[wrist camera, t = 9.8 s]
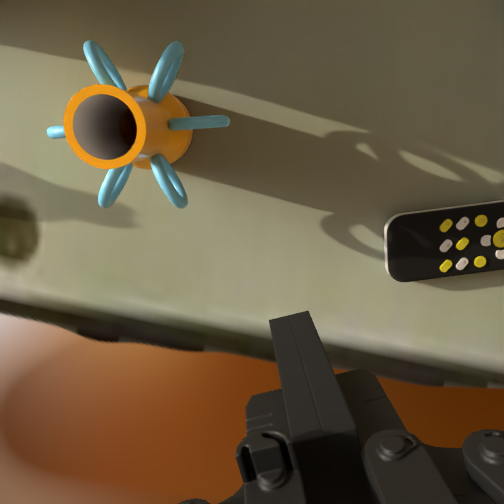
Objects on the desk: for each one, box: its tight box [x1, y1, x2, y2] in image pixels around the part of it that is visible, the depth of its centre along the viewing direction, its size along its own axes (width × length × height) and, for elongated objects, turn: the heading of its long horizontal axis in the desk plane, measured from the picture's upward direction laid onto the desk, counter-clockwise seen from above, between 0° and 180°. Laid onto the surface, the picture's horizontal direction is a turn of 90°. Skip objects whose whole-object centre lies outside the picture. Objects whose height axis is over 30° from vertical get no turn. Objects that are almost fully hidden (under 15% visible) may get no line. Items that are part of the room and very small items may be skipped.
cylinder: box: [47, 40, 230, 209], centre depth 29 cm, size 12×10×15 cm
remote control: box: [384, 200, 504, 282], centre depth 38 cm, size 6×13×2 cm, turn 97°
